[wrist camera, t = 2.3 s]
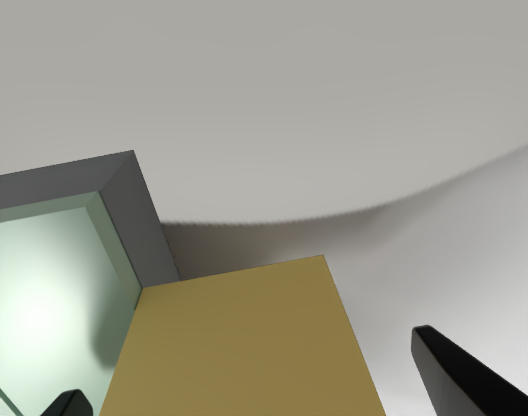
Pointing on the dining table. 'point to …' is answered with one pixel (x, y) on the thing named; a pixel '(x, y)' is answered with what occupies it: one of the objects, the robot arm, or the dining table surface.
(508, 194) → the dining table surface
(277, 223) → the dining table surface
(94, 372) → the grooved mint slab
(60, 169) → the tub
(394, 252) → the dining table surface
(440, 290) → the dining table surface
